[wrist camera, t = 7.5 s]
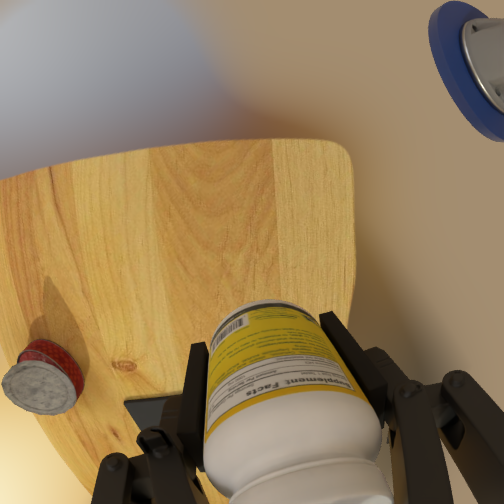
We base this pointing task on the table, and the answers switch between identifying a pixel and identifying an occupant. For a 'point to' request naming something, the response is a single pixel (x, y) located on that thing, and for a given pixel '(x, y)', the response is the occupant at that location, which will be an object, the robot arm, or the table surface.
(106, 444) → the table surface
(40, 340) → the canned food
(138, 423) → the mat
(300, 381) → the pill bottle
